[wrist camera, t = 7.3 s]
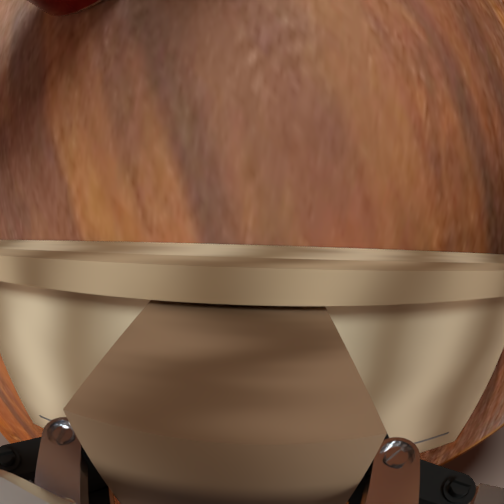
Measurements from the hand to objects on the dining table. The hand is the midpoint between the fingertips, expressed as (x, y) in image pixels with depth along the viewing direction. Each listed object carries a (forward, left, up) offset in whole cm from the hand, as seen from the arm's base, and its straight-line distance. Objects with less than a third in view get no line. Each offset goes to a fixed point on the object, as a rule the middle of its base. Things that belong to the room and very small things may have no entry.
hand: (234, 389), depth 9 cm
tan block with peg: (0, +2, -1) cm, 3 cm away
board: (0, +2, -3) cm, 4 cm away
